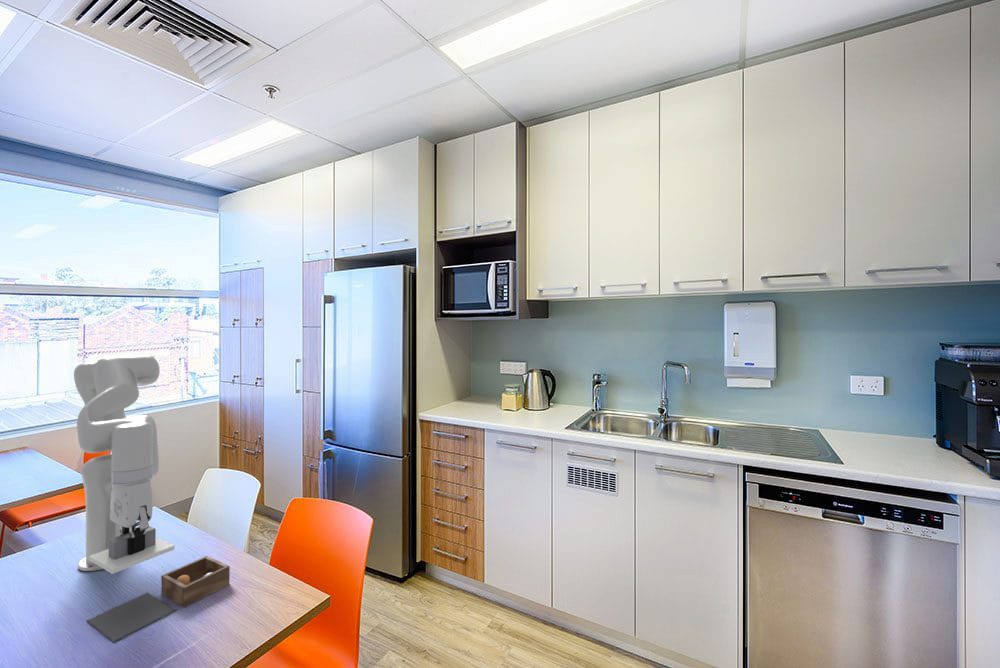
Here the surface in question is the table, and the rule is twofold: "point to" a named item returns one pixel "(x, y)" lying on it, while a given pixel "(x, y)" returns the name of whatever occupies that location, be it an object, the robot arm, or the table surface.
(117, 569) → the lid
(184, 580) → the orange ball
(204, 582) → the box
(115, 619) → the mat
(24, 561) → the table surface
